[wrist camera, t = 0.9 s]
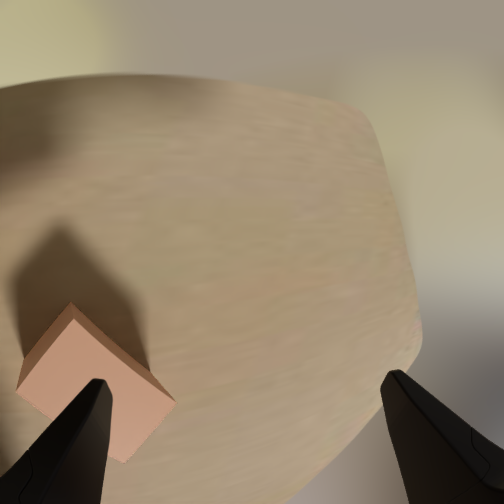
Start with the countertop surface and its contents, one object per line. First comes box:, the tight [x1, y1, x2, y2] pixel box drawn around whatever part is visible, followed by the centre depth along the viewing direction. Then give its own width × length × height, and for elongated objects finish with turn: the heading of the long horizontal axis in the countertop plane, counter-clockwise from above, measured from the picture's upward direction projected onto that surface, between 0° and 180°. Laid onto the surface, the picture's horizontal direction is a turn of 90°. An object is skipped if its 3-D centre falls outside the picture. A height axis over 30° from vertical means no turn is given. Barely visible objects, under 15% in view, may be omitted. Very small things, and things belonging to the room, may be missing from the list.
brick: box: [16, 302, 177, 464], centre depth 14 cm, size 5×7×5 cm
